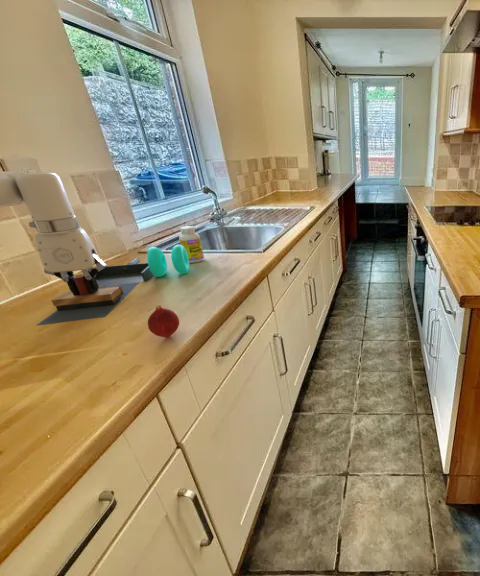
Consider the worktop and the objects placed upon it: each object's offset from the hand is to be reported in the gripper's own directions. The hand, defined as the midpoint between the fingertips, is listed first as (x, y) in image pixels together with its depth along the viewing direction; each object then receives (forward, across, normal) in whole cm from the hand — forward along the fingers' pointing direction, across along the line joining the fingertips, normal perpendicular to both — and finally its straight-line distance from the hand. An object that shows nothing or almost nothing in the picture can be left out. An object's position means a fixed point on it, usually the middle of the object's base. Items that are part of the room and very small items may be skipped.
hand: (86, 292), depth 86 cm
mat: (+4, 0, +2) cm, 4 cm away
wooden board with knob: (+3, 0, 0) cm, 3 cm away
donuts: (+4, +15, +19) cm, 25 cm away
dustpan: (+4, 0, +25) cm, 25 cm away
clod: (+4, +3, +5) cm, 7 cm away
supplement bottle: (+4, +19, +33) cm, 39 cm away
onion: (+4, +25, -25) cm, 35 cm away
